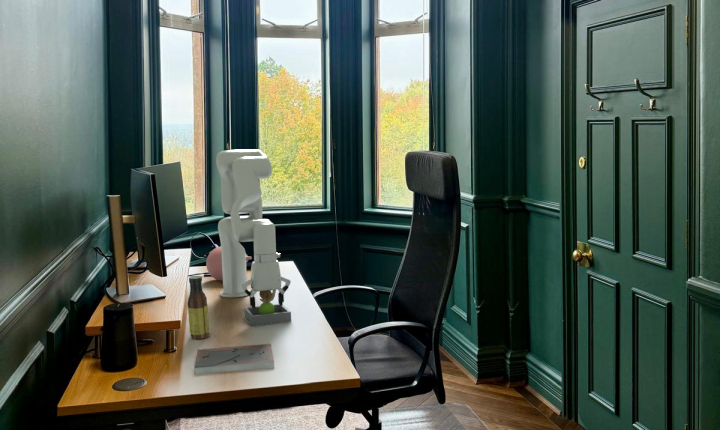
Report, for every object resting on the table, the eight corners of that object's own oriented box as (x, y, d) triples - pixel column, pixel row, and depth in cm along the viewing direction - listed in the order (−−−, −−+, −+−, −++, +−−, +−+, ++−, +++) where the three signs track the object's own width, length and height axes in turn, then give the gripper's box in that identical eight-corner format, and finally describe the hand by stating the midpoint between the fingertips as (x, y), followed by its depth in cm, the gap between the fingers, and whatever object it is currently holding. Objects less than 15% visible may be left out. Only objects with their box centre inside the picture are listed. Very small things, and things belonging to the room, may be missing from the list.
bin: (244, 317, 246) (244, 307, 245) (282, 313, 251) (281, 303, 250) (252, 326, 234) (251, 316, 234) (291, 321, 239) (290, 311, 238)
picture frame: (195, 375, 189) (274, 369, 193) (194, 367, 189) (274, 360, 193) (197, 356, 206) (271, 350, 209) (197, 348, 205) (270, 342, 209)
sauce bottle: (203, 333, 228) (200, 273, 225) (213, 336, 223) (210, 276, 221) (185, 337, 223) (182, 277, 221) (195, 341, 219) (192, 279, 216)
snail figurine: (275, 319, 239) (273, 285, 238) (257, 318, 240) (255, 285, 239) (279, 315, 245) (278, 281, 243) (262, 314, 246) (260, 281, 244)
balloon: (253, 282, 303) (252, 247, 301) (206, 285, 299) (205, 250, 297) (251, 275, 318) (250, 242, 316) (207, 278, 314) (205, 244, 312)
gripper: (286, 254, 246) (288, 301, 248) (238, 258, 240) (240, 306, 242) (292, 257, 239) (294, 305, 241) (242, 261, 233) (244, 311, 235)
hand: (267, 306), depth 242 cm, fingers open, 9 cm apart
